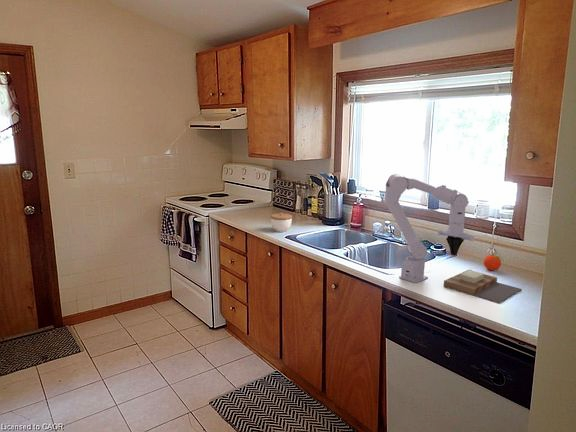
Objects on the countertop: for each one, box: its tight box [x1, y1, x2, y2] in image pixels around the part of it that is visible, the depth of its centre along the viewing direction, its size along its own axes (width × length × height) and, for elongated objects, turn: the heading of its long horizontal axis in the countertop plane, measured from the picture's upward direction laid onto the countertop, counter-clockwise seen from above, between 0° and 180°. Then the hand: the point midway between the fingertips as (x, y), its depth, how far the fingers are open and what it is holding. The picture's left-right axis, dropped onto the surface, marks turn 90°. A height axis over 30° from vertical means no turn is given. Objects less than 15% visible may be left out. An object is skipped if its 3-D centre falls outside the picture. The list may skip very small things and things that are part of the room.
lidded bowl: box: [270, 211, 293, 233], centre depth 254 cm, size 13×13×11 cm
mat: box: [472, 281, 523, 304], centre depth 162 cm, size 20×10×1 cm, turn 131°
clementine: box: [483, 254, 504, 272], centre depth 187 cm, size 8×7×7 cm
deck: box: [443, 269, 498, 296], centre depth 169 cm, size 20×12×2 cm, turn 131°
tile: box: [459, 269, 485, 283], centre depth 169 cm, size 8×6×2 cm
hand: (453, 254), depth 174 cm, fingers closed
